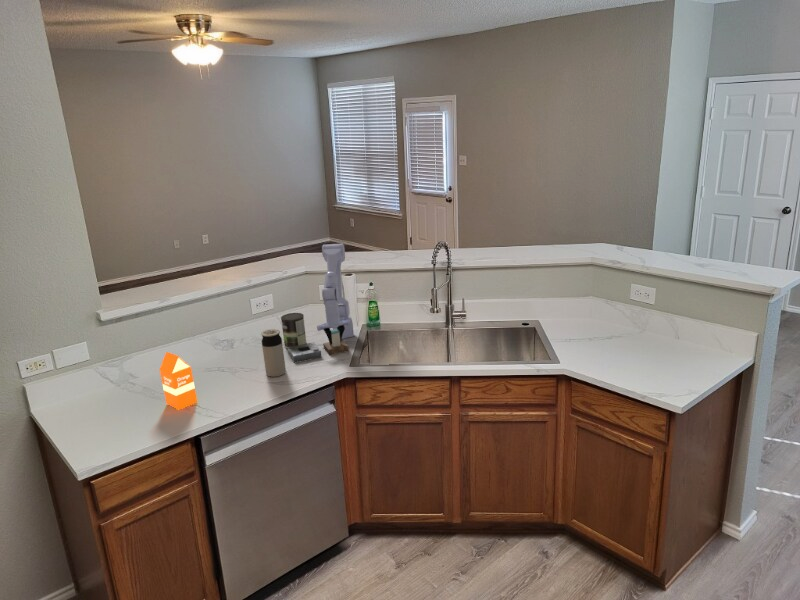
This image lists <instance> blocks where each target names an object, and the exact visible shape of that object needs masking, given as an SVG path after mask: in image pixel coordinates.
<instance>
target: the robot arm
mask: <svg viewBox="0 0 800 600" xmlns="http://www.w3.org/2000/svg"><path fill="white" fill-rule="evenodd" d="M345 251H346V248H345V244H343V242H342V243H331V244H324V243H323V245H322V246H321V252H322V255H321V256H322V257H323V259H324V261H325V262H326V264H327V265H326V267H327V271H326V272H327V273H325V274H324V283H323V288H322V290H321V295H322V296H321V297H322V300H323V305H324V309H325V310H324V311H325V318H326V322H324V323H322V324H319V325H316V328H317V331H318V332H320V331H323V332H324V334H325V335H326V337H327V340H328V341H329V343H330V344H332V339H331V331H330V330H331V329H332V330H334V329H338V330H339V331H340V333H339V334H340V343H341V340H343V339H346V338H352V337H355V334H354V332H355V331H354V323H353V319H352V317H351V316H350V305H349V301H348V300H347V299H346V298H344V297H343V283H342V281H343V280H342V269H341V268H342V263H343V262H345V261H346V252H345Z"/></svg>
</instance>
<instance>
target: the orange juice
mask: <svg viewBox="0 0 800 600" xmlns="http://www.w3.org/2000/svg"><path fill="white" fill-rule="evenodd" d="M159 372H160V377H161V382H162V384H161V385H162V389H163V393H164V398H165V403H166V405H167V404H168V405H170V406H172V407H174V408H176V409H175V410H177V409H178V410H177V411H179V410H180V409H182V410H184V409H186V408H185V407H187V406H189V407H191V406H193V405H195V404H194V403H196V404H198V398H197V393H196V388H195V381H194V377H193V371H192V367H191V366H190V365H189V364H188V363H186V362H185V361H184V360H183V358H181V357H180V356H179V355H176V354H175V353H174V354H173V353H171V352H170V351H169V352H168V351H166V352H165V354H164V356H163V359H162V362H161V365H160V367H159ZM192 404H193V405H192ZM168 405H167V406H168ZM190 405H191V406H190ZM170 406H169V407H170ZM172 407H171V408H172ZM174 408H173V409H174ZM183 408H184V409H183ZM187 408H188V407H187ZM180 411H181V410H180Z"/></svg>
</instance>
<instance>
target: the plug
mask: <svg viewBox="0 0 800 600" xmlns="http://www.w3.org/2000/svg"><path fill="white" fill-rule="evenodd" d="M330 331H331V339H332V344H331V347H337V346H341V344H340V334H339V333H340V331H339V330H338V329H334V330H333V329H330Z"/></svg>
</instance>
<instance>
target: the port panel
mask: <svg viewBox="0 0 800 600" xmlns="http://www.w3.org/2000/svg"><path fill="white" fill-rule="evenodd" d="M306 343H307V344H302V345H297V346H292V347H288V348H287V351H288V355H289V357H290V359H291V360H292V361H294V362H293V363H295V362H296V363H301V362H306V361H309V360H310V359H311V360H315V359H320V358H322V351H321V349H320V347H318V345H317V344H316V343H315V342H309V343H308V342H306ZM305 360H306V361H305ZM300 361H301V362H300ZM296 363H295V364H296Z"/></svg>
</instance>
